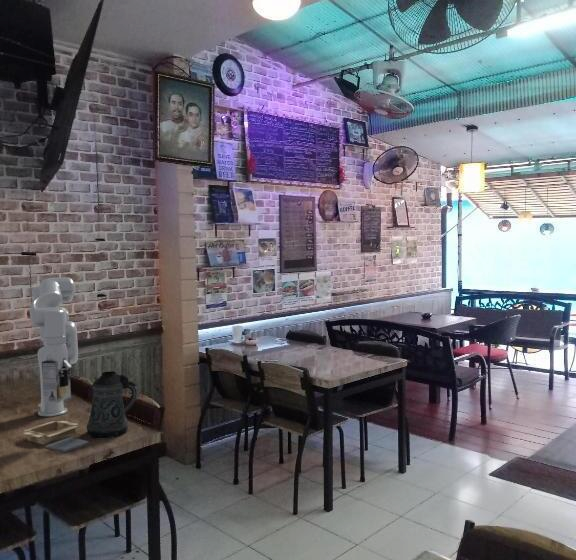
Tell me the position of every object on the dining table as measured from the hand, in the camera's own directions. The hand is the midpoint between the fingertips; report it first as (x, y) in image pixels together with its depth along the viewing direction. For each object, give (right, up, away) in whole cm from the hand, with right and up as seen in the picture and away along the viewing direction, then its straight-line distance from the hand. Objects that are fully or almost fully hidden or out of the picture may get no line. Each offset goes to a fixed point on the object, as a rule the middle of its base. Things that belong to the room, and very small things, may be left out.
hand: (56, 385), depth 220 cm
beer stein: (+18, -22, +12) cm, 31 cm away
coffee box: (0, -6, 0) cm, 6 cm away
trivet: (+6, -23, -4) cm, 24 cm away
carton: (-5, -22, +6) cm, 23 cm away
